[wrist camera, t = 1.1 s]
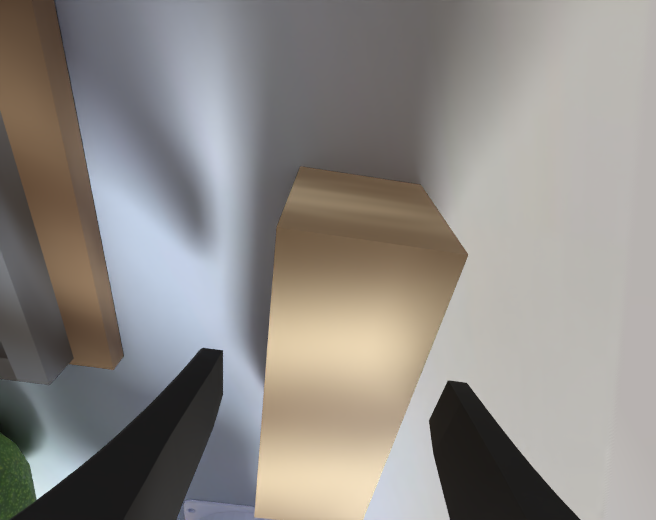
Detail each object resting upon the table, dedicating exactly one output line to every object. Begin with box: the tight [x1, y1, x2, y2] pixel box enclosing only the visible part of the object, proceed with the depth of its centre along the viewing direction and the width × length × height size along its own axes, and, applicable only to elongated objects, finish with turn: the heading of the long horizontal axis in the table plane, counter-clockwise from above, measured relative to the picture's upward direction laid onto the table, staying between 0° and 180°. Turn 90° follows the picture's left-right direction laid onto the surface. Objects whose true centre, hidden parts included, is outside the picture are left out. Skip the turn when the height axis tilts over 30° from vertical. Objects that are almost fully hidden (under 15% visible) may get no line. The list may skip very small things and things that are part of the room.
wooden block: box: [254, 166, 468, 520], centre depth 12 cm, size 12×4×5 cm, turn 172°
